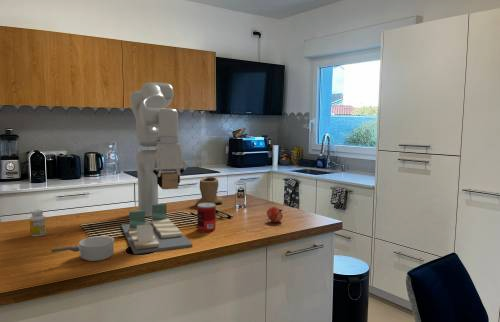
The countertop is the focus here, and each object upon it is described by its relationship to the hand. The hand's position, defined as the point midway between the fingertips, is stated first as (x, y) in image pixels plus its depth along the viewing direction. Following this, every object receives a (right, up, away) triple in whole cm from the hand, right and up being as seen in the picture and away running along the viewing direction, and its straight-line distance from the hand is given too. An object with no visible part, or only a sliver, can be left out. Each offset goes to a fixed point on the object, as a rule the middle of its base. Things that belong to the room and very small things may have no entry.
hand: (168, 185), depth 155 cm
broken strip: (-9, -20, -4) cm, 23 cm away
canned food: (+14, -20, +13) cm, 27 cm away
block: (-7, -20, -10) cm, 23 cm away
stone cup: (+11, -14, +62) cm, 64 cm away
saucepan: (-24, -24, -23) cm, 41 cm away
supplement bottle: (-53, -20, +3) cm, 57 cm away
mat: (-7, -21, +3) cm, 22 cm away
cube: (0, -1, 0) cm, 1 cm away
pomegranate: (+44, -19, +27) cm, 54 cm away
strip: (-3, -19, +9) cm, 21 cm away
